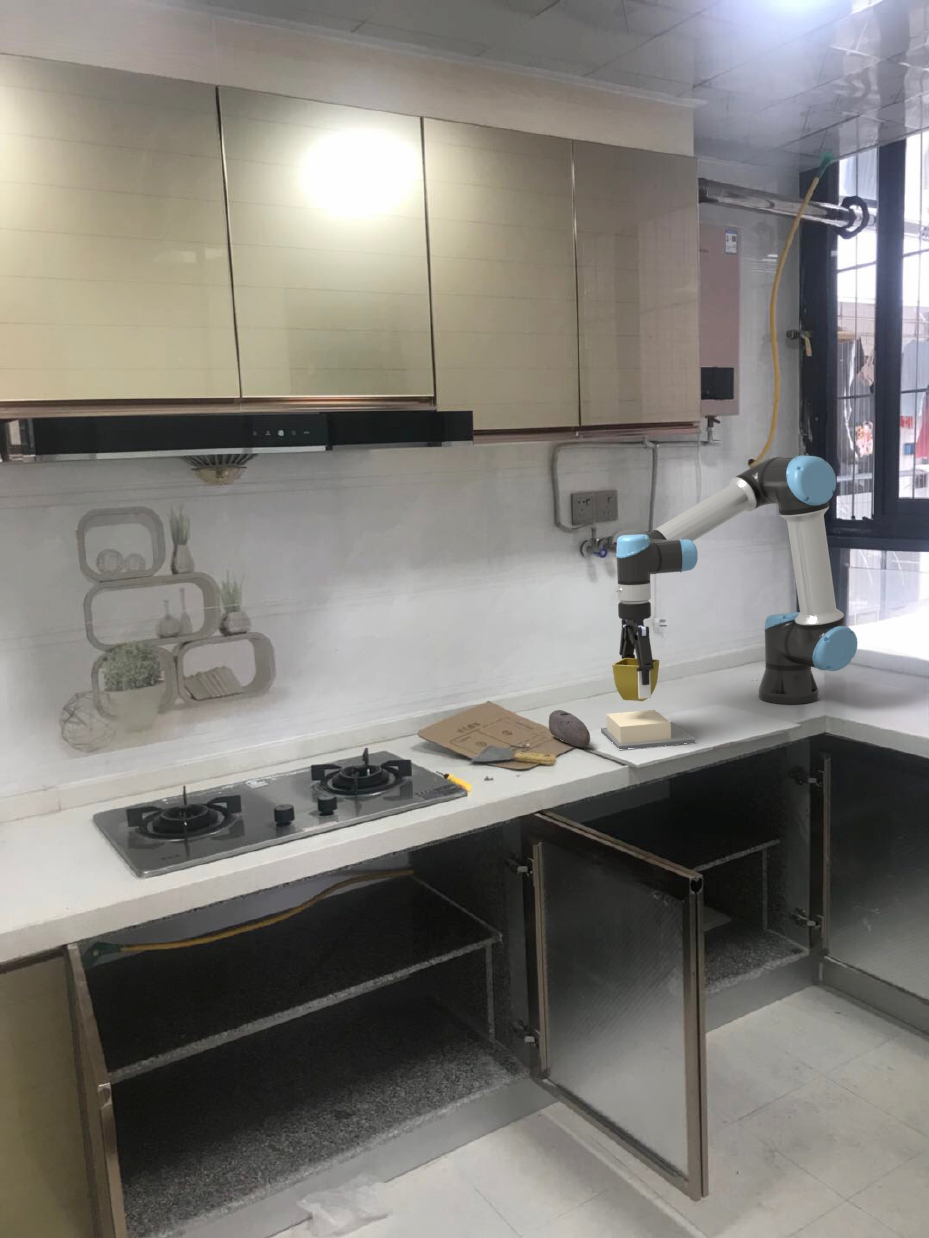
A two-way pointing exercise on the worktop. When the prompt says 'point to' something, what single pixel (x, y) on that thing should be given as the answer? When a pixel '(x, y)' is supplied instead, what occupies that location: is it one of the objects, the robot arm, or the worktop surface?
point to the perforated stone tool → (569, 728)
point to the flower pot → (632, 678)
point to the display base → (674, 739)
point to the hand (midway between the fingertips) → (636, 692)
